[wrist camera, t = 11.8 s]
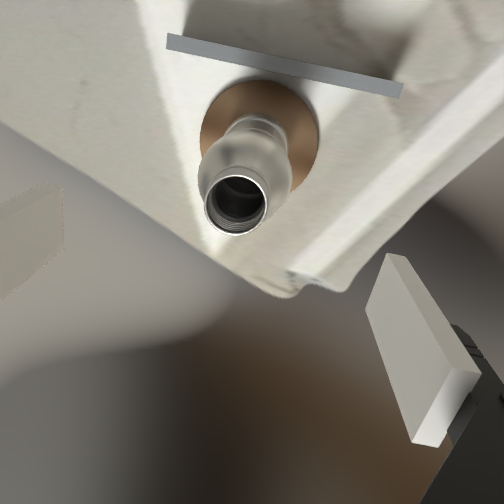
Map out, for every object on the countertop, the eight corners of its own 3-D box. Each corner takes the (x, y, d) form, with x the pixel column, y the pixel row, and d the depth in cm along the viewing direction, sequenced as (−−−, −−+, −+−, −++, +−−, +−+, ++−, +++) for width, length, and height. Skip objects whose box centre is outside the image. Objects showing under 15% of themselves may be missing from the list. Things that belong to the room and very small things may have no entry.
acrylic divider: (181, 37, 37) (167, 32, 32) (388, 81, 37) (403, 83, 33) (180, 51, 37) (166, 48, 33) (384, 95, 38) (398, 98, 33)
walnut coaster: (209, 68, 38) (208, 68, 37) (331, 94, 38) (332, 94, 37) (194, 187, 43) (192, 188, 42) (301, 209, 43) (301, 211, 42)
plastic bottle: (211, 148, 40) (154, 213, 22) (253, 94, 38) (227, 117, 20) (259, 188, 42) (241, 280, 24) (302, 139, 39) (320, 198, 21)
